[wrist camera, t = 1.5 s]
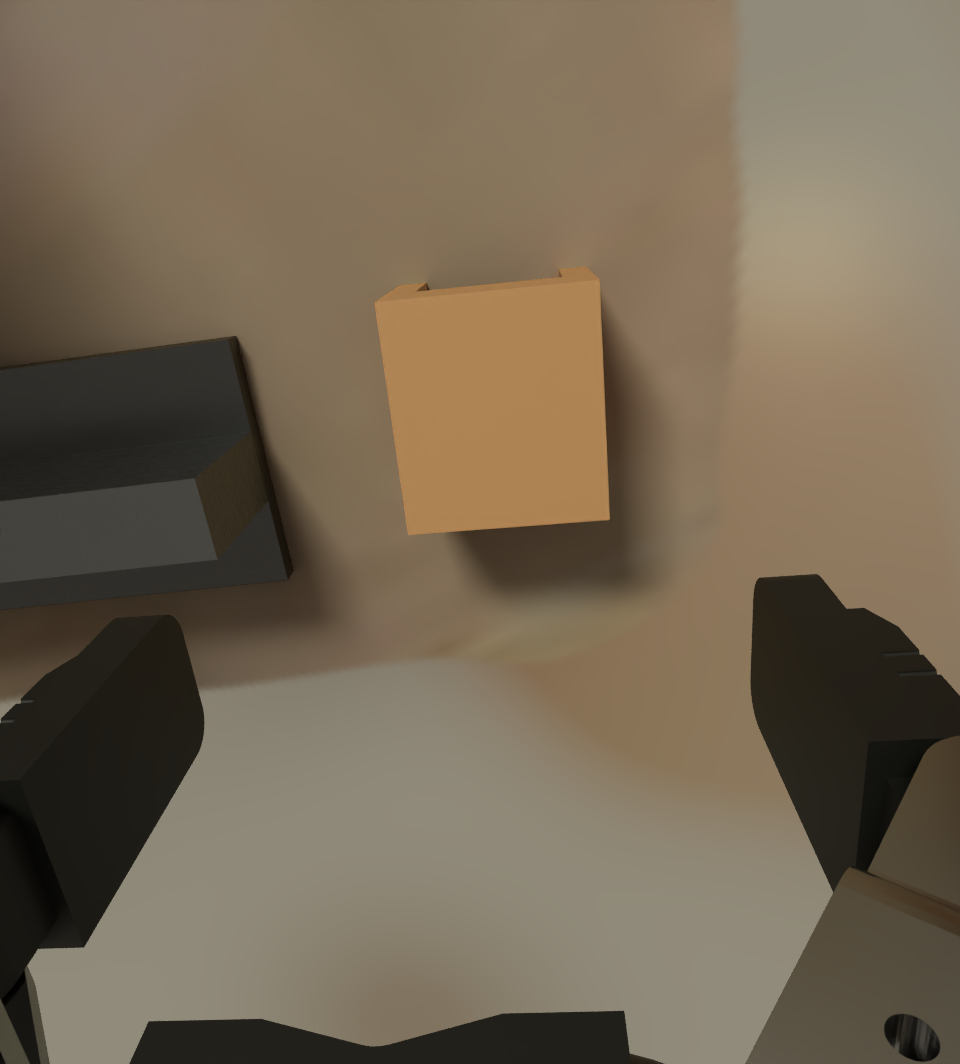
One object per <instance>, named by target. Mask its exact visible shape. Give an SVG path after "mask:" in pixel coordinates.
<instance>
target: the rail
mask: <svg viewBox="0 0 960 1064" xmlns="http://www.w3.org/2000/svg"><path fill="white" fill-rule="evenodd" d="M292 572H293V567H292V563H291V559H290V555H289V551H288V547H287V543H286V539H285V535H284V530H283V526H282V522H281V518H280V514H279V510H278V506H277V502H276V498H275V494H274V490H273V486H272V481H271V477H270V473H269V469H268V465H267V461H266V457H265V453H264V449H263V445H262V441H261V436H260V432H259V428H258V424H257V420H256V416H255V412H254V408H253V404H252V400H251V396H250V392H249V387H248V383H247V379H246V375H245V371H244V367H243V363H242V359H241V355H240V351H239V347H238V342H237V338H236V336H232V337H224V338H217V339H210V340H202V341H195V342H187V343H180V344H173V345H165V346H158V347H150V348H143V349H136V350H128V351H121V352H113V353H106V354H99V355H91V356H84V357H76V358H69V359H62V360H54V361H47V362H39V363H32V364H25V365H17V366H10V367H2V368H0V610H4V609H13V608H23V607H33V606H42V605H52V604H61V603H71V602H81V601H90V600H100V599H110V598H119V597H129V596H138V595H148V594H158V593H167V592H177V591H187V590H196V589H206V588H216V587H225V586H235V585H244V584H254V583H264V582H273V581H283V580H288V579H289V577H290V576H291V574H292Z"/></svg>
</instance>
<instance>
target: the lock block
mask: <svg viewBox="0 0 960 1064" xmlns="http://www.w3.org/2000/svg"><path fill="white" fill-rule="evenodd" d="M374 303H375V310H376V316H377V323H378V330H379V337H380V344H381V351H382V358H383V365H384V372H385V379H386V385H387V392H388V399H389V406H390V413H391V420H392V427H393V434H394V441H395V448H396V454H397V461H398V468H399V475H400V482H401V489H402V496H403V503H404V510H405V517H406V523H407V530H408V535H414V534H428V533H441V532H455V531H468V530H481V529H495V528H508V527H521V526H535V525H548V524H562V523H575V522H588V521H602V520H610V511H609V488H608V465H607V441H606V418H605V394H604V371H603V347H602V324H601V301H600V280H599V279H598V278H597V277H596V276H595V275H594V274H593V273H592V272H591V271H590V270H589V269H588V268H587V267H577V268H567V269H559V277H557V278H547V279H537V280H527V281H517V282H507V283H497V284H487V285H477V286H467V287H457V288H447V289H437V290H427V283H419V284H409V285H400V286H398V287H397V288H395V289H394V290H392V291H391V292H389V293H388V294H386V295H385V296H383V297H382V298H380V299H379V300H377V301H376V302H374Z"/></svg>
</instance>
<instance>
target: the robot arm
mask: <svg viewBox="0 0 960 1064" xmlns="http://www.w3.org/2000/svg"><path fill="white" fill-rule="evenodd" d="M752 625H753V626H752V653H751V654H752V655H751V696H752V703H753V709H754V714H755V717H756V721H757V724H758V726H759V729H760V731H761V733H762V736H763V738H764V740H765V742H766V744H767V747H768V749H769V751H770V753H771V755H772V757H773V760H774V762H775V764H776V767H777V769H778V771H779V773H780V776H781V778H782V780H783V782H784V784H785V787H786V789H787V791H788V793H789V795H790V798H791V800H792V802H793V804H794V806H795V809H796V811H797V813H798V815H799V818H800V820H801V822H802V824H803V826H804V829H805V831H806V833H807V835H808V837H809V840H810V842H811V844H812V846H813V848H814V851H815V853H816V855H817V857H818V860H819V862H820V864H821V866H822V868H823V871H824V873H825V875H826V877H827V879H828V882H829V884H830V886H831V888H832V890H833V895H832V897H831V898H830V900H829V903H828V905H827V906H826V908H825V910H824V912H823V914H822V916H821V918H820V920H819V922H818V924H817V926H816V928H815V929H814V932H813V933H812V935H811V937H810V939H809V941H808V943H807V945H806V947H805V949H804V951H803V953H802V955H801V957H800V959H799V961H798V963H797V965H796V967H795V968H794V970H793V972H792V974H791V976H790V978H789V980H788V982H787V984H786V986H785V988H784V990H783V992H782V994H781V996H780V997H779V999H778V1001H777V1003H776V1005H775V1007H774V1009H773V1011H772V1013H771V1015H770V1017H769V1019H768V1021H767V1023H766V1025H765V1027H764V1029H763V1030H762V1033H761V1034H760V1036H759V1038H758V1040H757V1042H756V1044H755V1046H754V1048H753V1050H752V1052H751V1054H750V1056H749V1058H748V1060H747V1061H746V1063H745V1064H960V696H959V695H958V693H957V692H956V691H955V690H954V689H953V688H952V687H951V685H950V684H949V683H948V682H947V681H946V680H945V679H944V678H943V676H941V675H937V672H936V669H935V667H933V665H932V664H931V663H930V662H929V661H928V660H927V658H926V657H925V656H924V655H920V654H919V649H918V648H917V647H916V646H915V645H914V644H913V643H912V642H911V641H910V639H909V638H908V637H907V636H906V635H905V634H904V633H903V632H902V631H901V629H900V628H899V627H898V626H896V625H894V624H892V623H891V622H889V621H887V620H885V619H883V618H881V617H880V616H878V615H876V614H874V613H872V612H870V611H869V610H867V609H865V608H857V609H856V608H855V609H846V608H845V607H844V605H843V604H842V603H841V602H840V600H839V599H838V598H837V597H836V595H835V594H834V593H833V592H832V590H831V589H830V588H829V587H828V585H827V584H826V583H825V582H824V580H823V579H822V578H821V577H820V576H819V575H817V574H811V575H796V576H780V577H764V578H759V579H758V580H757V581H756V584H755V588H754V598H753V624H752ZM203 734H204V713H203V707H202V703H201V699H200V696H199V692H198V688H197V684H196V681H195V677H194V673H193V669H192V666H191V662H190V658H189V655H188V651H187V647H186V643H185V640H184V636H183V632H182V629H181V627H180V625H179V623H178V621H177V620H176V619H175V618H174V617H173V616H171V615H158V616H142V617H127V618H116V619H114V620H113V621H111V622H110V623H109V624H108V625H107V626H106V627H105V628H104V629H103V630H102V631H101V632H100V633H99V634H98V635H97V636H96V637H95V638H94V639H93V640H92V642H91V643H90V644H89V645H88V646H87V647H86V648H85V649H84V650H83V651H82V652H81V653H80V654H79V655H77V656H76V657H74V658H73V659H71V660H69V661H68V662H66V663H64V664H63V665H61V666H59V667H58V668H56V669H55V670H53V671H51V672H50V673H48V674H46V675H45V676H44V677H43V678H42V679H41V680H40V681H39V682H38V683H37V684H36V685H35V686H34V687H32V688H31V689H30V690H29V691H28V692H27V693H26V694H25V695H24V696H23V697H22V698H21V704H15V705H14V706H13V707H12V708H11V709H10V710H9V711H8V712H7V713H6V714H5V715H4V716H3V717H2V718H1V724H0V1064H50V1063H49V1057H48V1052H47V1047H46V1041H45V1036H44V1031H43V1025H42V1019H41V1013H40V1008H39V1002H38V997H37V991H36V986H35V983H34V980H33V978H32V976H31V973H30V971H29V969H28V966H27V965H28V963H29V962H30V960H31V959H32V957H33V956H34V954H35V953H36V951H37V949H45V948H76V947H77V948H79V947H84V946H85V945H86V943H87V941H88V940H89V938H90V936H91V935H92V933H93V931H94V929H95V928H96V926H97V924H98V923H99V921H100V919H101V918H102V916H103V914H104V912H105V910H106V909H107V907H108V905H109V904H110V902H111V901H112V899H113V897H114V895H115V894H116V892H117V890H118V889H119V887H120V885H121V883H122V882H123V880H124V878H125V877H126V875H127V873H128V872H129V870H130V868H131V867H132V865H133V863H134V861H135V860H136V858H137V856H138V855H139V853H140V851H141V850H142V848H143V846H144V844H145V843H146V841H147V839H148V838H149V836H150V834H151V833H152V831H153V829H154V827H155V826H156V824H157V822H158V821H159V819H160V817H161V816H162V814H163V812H164V810H165V809H166V807H167V805H168V804H169V802H170V800H171V798H172V797H173V795H174V793H175V792H176V790H177V788H178V787H179V785H180V783H181V781H182V780H183V778H184V776H185V775H186V773H187V771H188V770H189V768H190V766H191V764H192V763H193V761H194V759H195V758H196V756H197V754H198V752H199V750H200V747H201V744H202V740H203ZM130 1064H663V1063H660V1062H658V1061H655V1060H652V1059H648V1058H644V1057H641V1056H637V1055H633V1054H630V1053H629V1045H628V1037H627V1030H626V1022H625V1014H624V1011H603V1012H557V1013H514V1014H513V1013H511V1014H500V1015H496V1016H493V1017H489V1018H485V1019H482V1020H478V1021H474V1022H471V1023H467V1024H463V1025H460V1026H456V1027H452V1028H448V1029H445V1030H441V1031H438V1032H434V1033H430V1034H426V1035H423V1036H419V1037H416V1038H412V1039H408V1040H404V1041H401V1042H398V1043H393V1044H390V1045H385V1046H376V1047H370V1046H364V1045H360V1044H356V1043H352V1042H348V1041H344V1040H340V1039H336V1038H333V1037H329V1036H325V1035H321V1034H317V1033H313V1032H309V1031H306V1030H302V1029H298V1028H294V1027H290V1026H286V1025H282V1024H279V1023H275V1022H271V1021H267V1020H263V1019H240V1020H198V1021H197V1020H196V1021H195V1020H193V1021H149V1022H148V1024H147V1027H146V1029H145V1031H144V1033H143V1035H142V1037H141V1040H140V1042H139V1044H138V1046H137V1048H136V1051H135V1053H134V1055H133V1057H132V1059H131V1061H130Z"/></svg>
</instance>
